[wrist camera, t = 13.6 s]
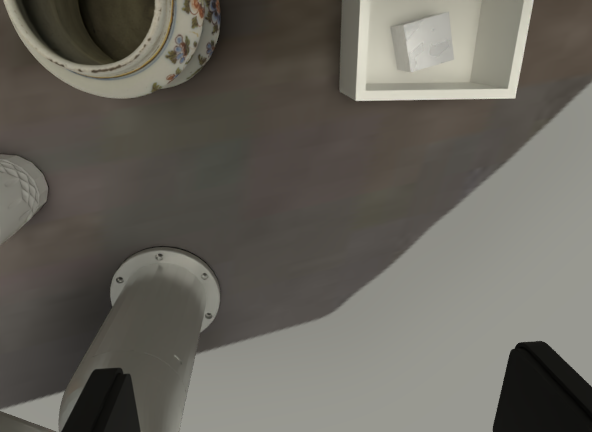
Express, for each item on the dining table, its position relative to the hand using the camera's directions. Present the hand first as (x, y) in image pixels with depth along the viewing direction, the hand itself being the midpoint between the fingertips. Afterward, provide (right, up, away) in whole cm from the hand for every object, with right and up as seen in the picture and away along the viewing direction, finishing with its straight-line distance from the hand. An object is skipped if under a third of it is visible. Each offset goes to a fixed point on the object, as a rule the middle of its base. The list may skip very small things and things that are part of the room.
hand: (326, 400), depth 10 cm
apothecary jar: (-13, +23, +28) cm, 39 cm away
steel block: (+11, +21, +30) cm, 38 cm away
